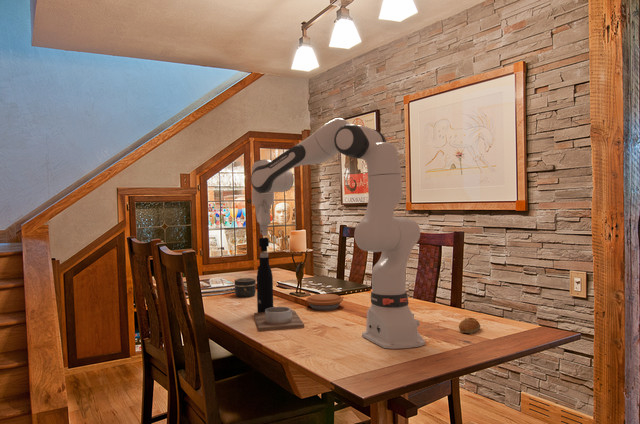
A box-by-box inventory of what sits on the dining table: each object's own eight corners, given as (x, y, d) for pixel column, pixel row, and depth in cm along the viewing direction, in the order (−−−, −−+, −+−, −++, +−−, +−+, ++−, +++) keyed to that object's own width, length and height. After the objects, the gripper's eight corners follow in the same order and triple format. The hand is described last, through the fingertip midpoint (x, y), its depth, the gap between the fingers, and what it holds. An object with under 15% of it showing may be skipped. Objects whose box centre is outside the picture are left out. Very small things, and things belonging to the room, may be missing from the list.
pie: (299, 310, 198) (299, 297, 198) (316, 302, 212) (315, 290, 212) (334, 313, 192) (333, 300, 191) (348, 304, 206) (348, 293, 205)
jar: (235, 298, 223) (234, 282, 222) (234, 294, 232) (233, 278, 232) (257, 297, 225) (256, 280, 225) (254, 293, 235) (254, 277, 235)
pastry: (476, 336, 158) (476, 324, 158) (455, 333, 161) (455, 322, 161) (481, 328, 166) (480, 317, 166) (461, 326, 169) (460, 316, 169)
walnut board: (304, 327, 171) (304, 324, 171) (258, 331, 167) (258, 327, 167) (294, 313, 192) (294, 310, 192) (253, 316, 189) (253, 313, 189)
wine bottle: (274, 310, 198) (273, 237, 197) (271, 314, 191) (270, 238, 190) (259, 310, 198) (257, 237, 197) (255, 314, 192) (254, 239, 191)
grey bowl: (293, 322, 173) (293, 311, 173) (266, 324, 171) (266, 313, 171) (289, 316, 182) (289, 305, 182) (264, 318, 180) (264, 307, 180)
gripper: (273, 200, 184) (274, 236, 184) (268, 200, 204) (268, 232, 204) (257, 201, 182) (258, 237, 183) (253, 200, 202) (253, 233, 203)
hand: (263, 235), depth 194 cm, fingers open, 8 cm apart
